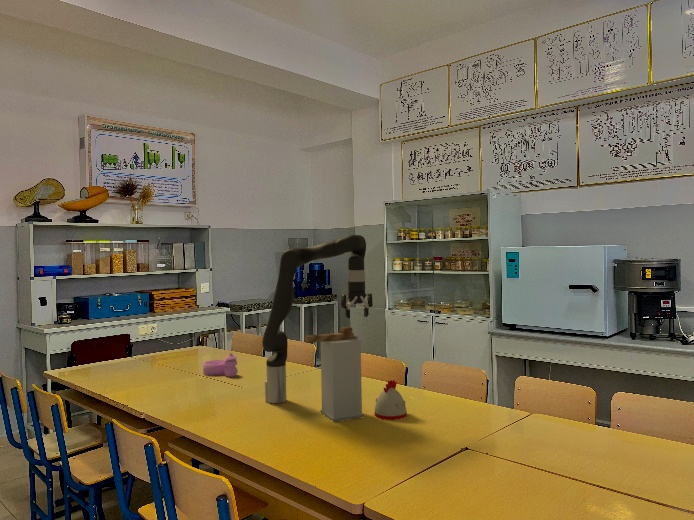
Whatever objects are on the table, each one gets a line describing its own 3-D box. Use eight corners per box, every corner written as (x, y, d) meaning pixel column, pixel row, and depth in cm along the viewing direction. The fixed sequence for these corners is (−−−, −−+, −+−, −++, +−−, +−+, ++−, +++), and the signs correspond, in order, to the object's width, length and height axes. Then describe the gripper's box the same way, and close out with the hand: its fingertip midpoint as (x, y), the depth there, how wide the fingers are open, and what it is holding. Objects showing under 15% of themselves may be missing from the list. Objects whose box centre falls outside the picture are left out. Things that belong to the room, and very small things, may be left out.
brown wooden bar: (307, 342, 226) (307, 331, 226) (304, 341, 229) (304, 330, 229) (353, 338, 234) (353, 327, 234) (350, 337, 238) (349, 326, 238)
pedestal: (333, 422, 225) (331, 340, 224) (320, 412, 238) (319, 335, 238) (363, 417, 230) (362, 337, 230) (349, 408, 244) (348, 333, 243)
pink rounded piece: (198, 373, 322) (197, 351, 321) (219, 369, 333) (218, 347, 333) (224, 379, 306) (224, 356, 306) (245, 374, 318) (245, 352, 317)
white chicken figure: (413, 414, 234) (412, 380, 233) (393, 422, 224) (392, 386, 223) (387, 408, 243) (387, 375, 243) (367, 415, 233) (367, 381, 233)
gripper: (345, 281, 230) (346, 319, 230) (375, 280, 236) (375, 317, 236) (338, 280, 236) (338, 317, 237) (367, 279, 242) (367, 315, 243)
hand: (357, 317), depth 236 cm, fingers open, 8 cm apart
